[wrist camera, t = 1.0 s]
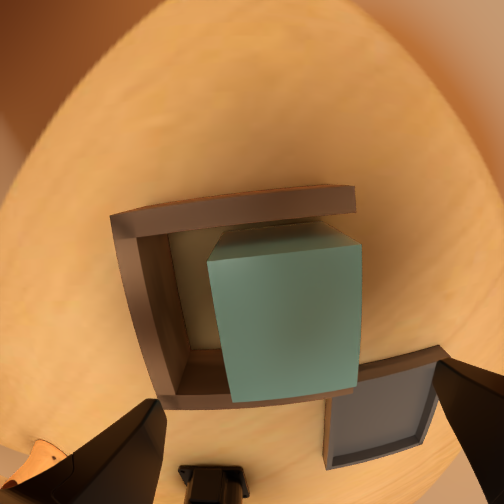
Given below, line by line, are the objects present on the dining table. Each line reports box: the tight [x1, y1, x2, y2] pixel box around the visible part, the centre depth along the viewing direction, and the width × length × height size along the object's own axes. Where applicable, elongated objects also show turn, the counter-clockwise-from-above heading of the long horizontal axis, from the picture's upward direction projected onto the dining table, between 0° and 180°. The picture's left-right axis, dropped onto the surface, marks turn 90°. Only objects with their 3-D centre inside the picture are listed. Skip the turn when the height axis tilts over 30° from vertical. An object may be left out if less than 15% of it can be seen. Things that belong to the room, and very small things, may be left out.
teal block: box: [207, 221, 362, 403], centre depth 15 cm, size 7×6×7 cm
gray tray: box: [323, 345, 451, 470], centre depth 20 cm, size 11×10×2 cm
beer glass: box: [0, 440, 67, 489], centre depth 17 cm, size 7×7×15 cm
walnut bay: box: [110, 184, 356, 410], centre depth 16 cm, size 11×11×5 cm
